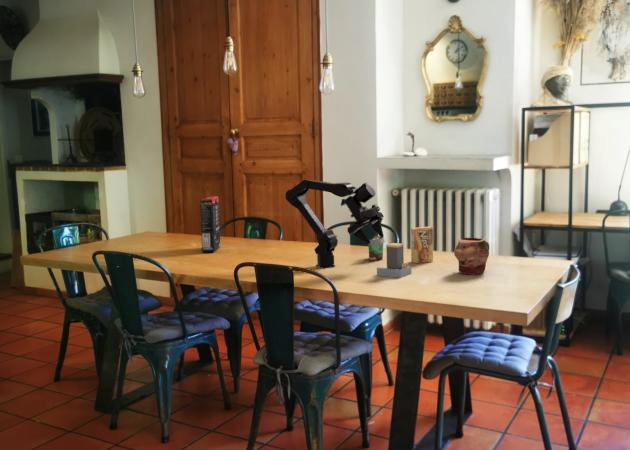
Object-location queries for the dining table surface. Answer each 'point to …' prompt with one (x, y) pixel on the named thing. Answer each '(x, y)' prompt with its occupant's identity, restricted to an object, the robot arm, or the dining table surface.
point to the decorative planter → (472, 255)
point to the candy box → (422, 244)
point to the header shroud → (395, 271)
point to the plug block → (395, 256)
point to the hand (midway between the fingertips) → (376, 240)
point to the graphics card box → (210, 224)
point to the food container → (376, 248)
